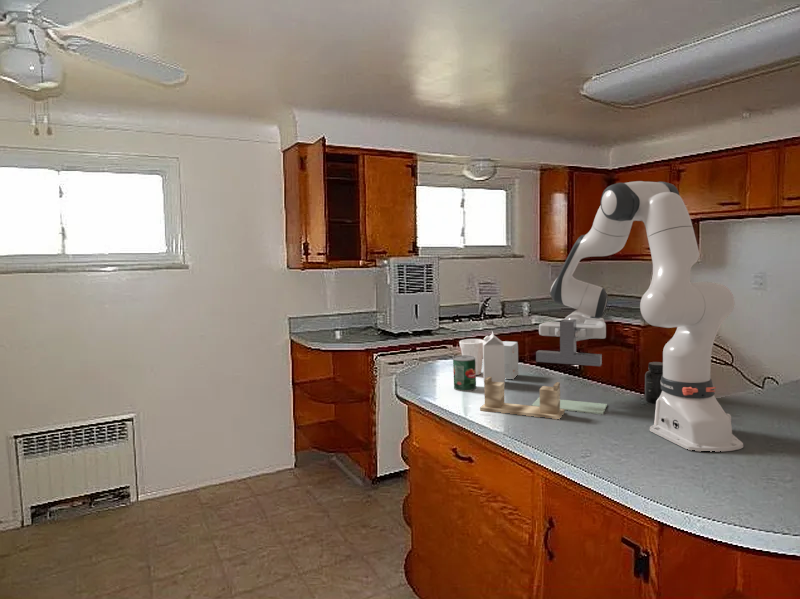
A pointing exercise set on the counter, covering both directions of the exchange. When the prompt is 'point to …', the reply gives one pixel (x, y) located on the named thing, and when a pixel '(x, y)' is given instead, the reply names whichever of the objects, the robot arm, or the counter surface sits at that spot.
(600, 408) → the mat
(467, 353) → the cup
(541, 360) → the grey inverted t block
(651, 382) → the supplement bottle
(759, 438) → the counter surface
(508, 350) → the small box
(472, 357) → the canned tomato
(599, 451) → the counter surface
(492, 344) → the milk carton
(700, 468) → the counter surface
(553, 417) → the stand
